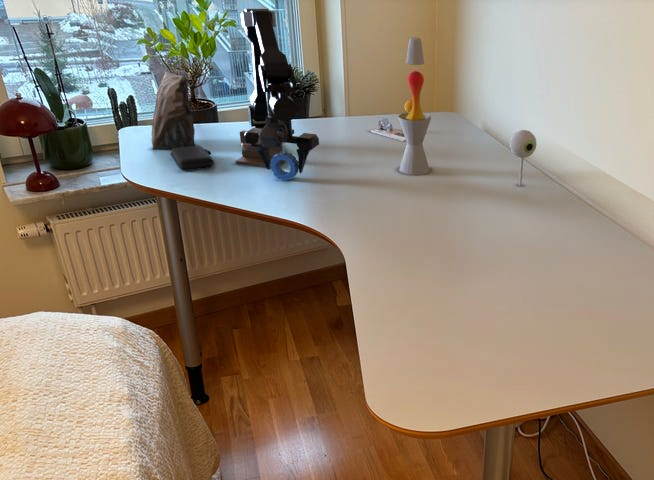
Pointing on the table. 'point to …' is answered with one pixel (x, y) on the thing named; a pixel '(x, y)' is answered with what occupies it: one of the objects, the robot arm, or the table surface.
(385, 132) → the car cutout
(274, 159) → the tape roll
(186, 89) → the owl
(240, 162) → the hook
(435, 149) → the table surface
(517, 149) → the eyeball on stand
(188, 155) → the carrying case
